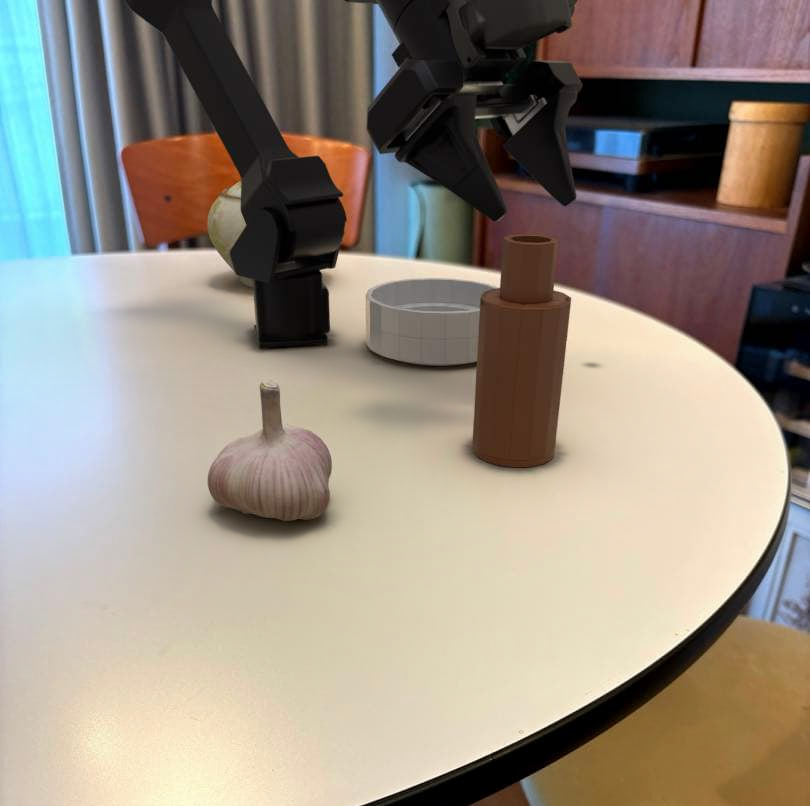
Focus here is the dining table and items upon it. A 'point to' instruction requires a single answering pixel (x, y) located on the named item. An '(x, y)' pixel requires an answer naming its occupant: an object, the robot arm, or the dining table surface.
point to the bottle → (521, 356)
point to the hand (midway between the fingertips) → (537, 209)
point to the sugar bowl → (227, 224)
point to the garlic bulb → (273, 468)
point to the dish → (425, 320)
